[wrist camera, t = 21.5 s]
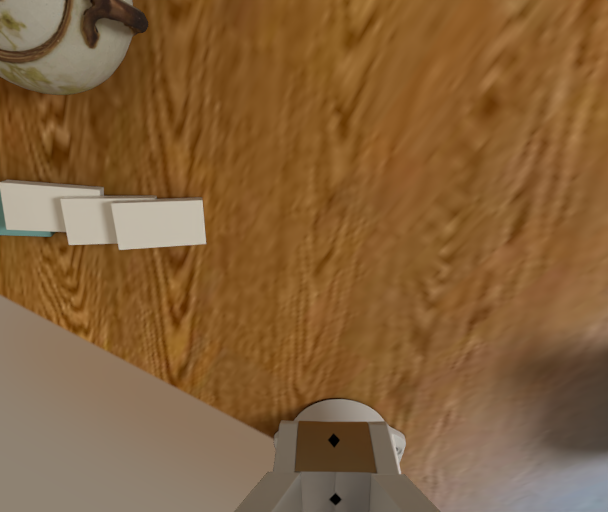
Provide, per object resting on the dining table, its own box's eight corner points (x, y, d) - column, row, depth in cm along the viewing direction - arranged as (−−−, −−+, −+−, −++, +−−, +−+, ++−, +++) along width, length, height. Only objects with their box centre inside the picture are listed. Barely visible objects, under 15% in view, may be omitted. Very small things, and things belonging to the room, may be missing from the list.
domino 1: (102, 233, 39) (6, 229, 36) (105, 229, 41) (14, 225, 38) (99, 189, 38) (-1, 182, 35) (103, 187, 39) (7, 179, 36)
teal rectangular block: (50, 236, 40) (-51, 233, 36) (55, 232, 41) (-42, 228, 38) (46, 193, 38) (-60, 186, 35) (51, 190, 40) (-50, 183, 36)
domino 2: (158, 241, 39) (69, 245, 37) (160, 237, 41) (74, 240, 39) (154, 198, 38) (60, 198, 35) (156, 195, 39) (66, 195, 37)
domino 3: (206, 243, 39) (119, 249, 37) (205, 239, 41) (122, 244, 38) (202, 200, 37) (110, 203, 35) (202, 197, 39) (114, 200, 37)
